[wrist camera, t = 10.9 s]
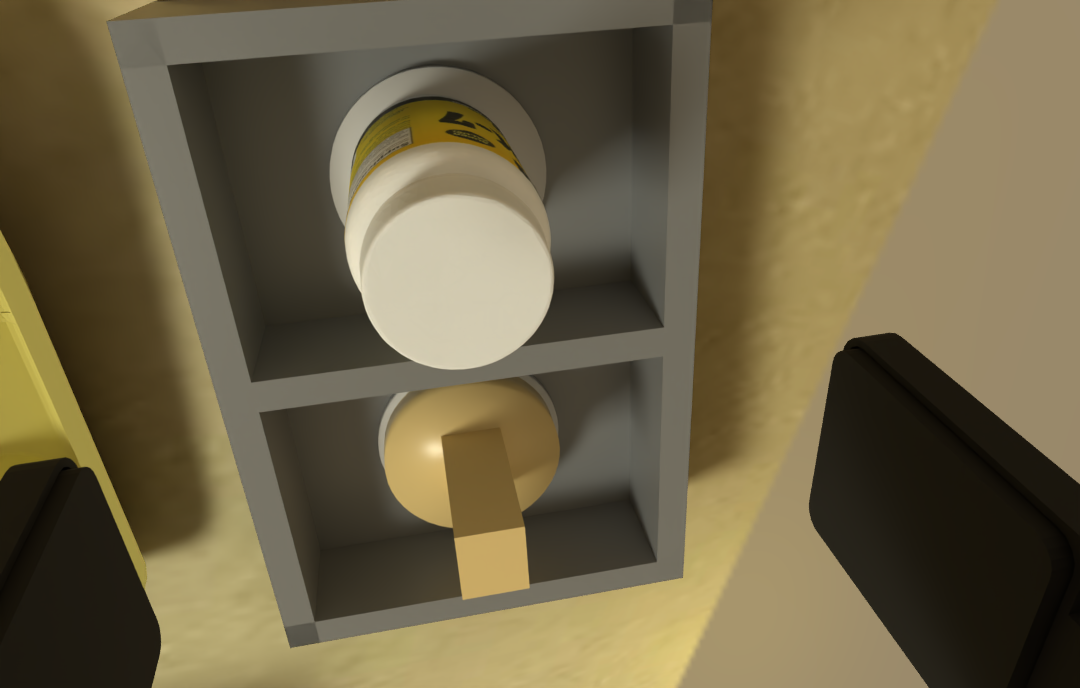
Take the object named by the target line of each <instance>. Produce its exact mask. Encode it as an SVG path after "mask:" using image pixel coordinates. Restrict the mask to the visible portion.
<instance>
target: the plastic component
mask: <svg viewBox="0 0 1080 688" xmlns="http://www.w3.org/2000/svg"><path fill="white" fill-rule="evenodd" d="M63 457H66V458H70V459H72V460H73V461H74V462H75V463H76V465H77V467H78V468H80V467H89V468H91V469H92V470H93V471H94V473H95V475H96V477H97V479H98V481H99V484H100V486H101V489H102V491H103V493H104V496H105V498H106V500H107V503H108V505H109V507H110V510H111V512H112V515H113V517H114V519H115V522H116V524H117V526H118V529H119V531H120V533H121V536H122V538H123V541H124V543H125V545H126V548H127V550H128V552H129V555H130V557H131V559H132V562H133V564H134V566H135V569H136V571H137V574H138V576H139V578H140V581H141V583H142V585H143V588H144V589H145V585H146V580H147V573H146V564H145V561H144V559H143V557H142V554H141V552H140V550H139V547H138V545H137V543H136V540H135V538H134V535H133V533H132V531H131V528H130V526H129V524H128V521H127V519H126V517H125V514H124V512H123V510H122V507H121V505H120V502H119V500H118V498H117V495H116V493H115V491H114V488H113V486H112V484H111V481H110V479H109V476H108V474H107V472H106V469H105V467H104V465H103V462H102V460H101V458H100V455H99V453H98V451H97V448H96V446H95V443H94V441H93V439H92V436H91V434H90V432H89V429H88V427H87V425H86V422H85V420H84V418H83V415H82V413H81V410H80V408H79V406H78V403H77V401H76V399H75V396H74V394H73V392H72V389H71V387H70V384H69V382H68V380H67V377H66V375H65V373H64V370H63V368H62V366H61V363H60V361H59V359H58V356H57V354H56V351H55V349H54V347H53V344H52V342H51V340H50V337H49V335H48V333H47V330H46V328H45V325H44V323H43V321H42V318H41V316H40V314H39V311H38V309H37V306H36V304H35V301H34V299H33V296H32V294H31V291H30V288H29V286H28V284H27V281H26V279H25V277H24V275H23V273H22V271H21V269H20V267H19V265H18V263H17V261H16V259H15V257H14V255H13V253H12V251H11V249H10V247H9V246H8V244H7V242H6V240H5V238H4V236H3V234H2V232H1V230H0V480H1V479H2V477H3V475H4V474H5V472H6V471H7V470H8V469H9V468H10V467H11V466H14V465H17V464H24V463H30V462H37V461H44V460H50V459H57V458H63Z"/></svg>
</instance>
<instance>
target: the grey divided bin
mask: <svg viewBox="0 0 1080 688" xmlns="http://www.w3.org/2000/svg"><path fill="white" fill-rule="evenodd" d="M712 3H713V0H167V1H154V2H152V3H150V4H147V5H145V6H142V7H140V8H138V9H135V10H133V11H130V12H128V13H126V14H123V15H121V16H118V17H116V18H114V19H111V20H109V21H106V22H107V25H108V29H109V32H110V35H111V39H112V42H113V46H114V49H115V52H116V56H117V59H118V63H119V66H120V69H121V73H122V76H123V80H124V83H125V86H126V90H127V93H128V97H129V100H130V103H131V107H132V110H133V114H134V117H135V121H136V124H137V127H138V131H139V134H140V138H141V141H142V144H143V148H144V151H145V155H146V158H147V161H148V165H149V168H150V172H151V175H152V178H153V182H154V185H155V189H156V192H157V195H158V199H159V202H160V206H161V209H162V212H163V216H164V219H165V223H166V226H167V230H168V233H169V236H170V240H171V243H172V247H173V250H174V253H175V257H176V260H177V264H178V267H179V270H180V274H181V277H182V281H183V284H184V287H185V291H186V294H187V298H188V301H189V304H190V308H191V311H192V315H193V318H194V321H195V325H196V328H197V332H198V335H199V339H200V342H201V345H202V349H203V352H204V356H205V359H206V362H207V366H208V369H209V373H210V376H211V379H212V383H213V386H214V390H215V393H216V396H217V400H218V403H219V407H220V410H221V413H222V417H223V420H224V424H225V427H226V430H227V434H228V437H229V441H230V444H231V448H232V451H233V454H234V458H235V461H236V465H237V468H238V471H239V475H240V478H241V482H242V485H243V488H244V492H245V495H246V499H247V502H248V505H249V509H250V512H251V516H252V519H253V522H254V526H255V529H256V533H257V536H258V540H259V543H260V546H261V550H262V553H263V557H264V560H265V563H266V567H267V570H268V574H269V577H270V580H271V584H272V587H273V591H274V594H275V597H276V601H277V604H278V608H279V611H280V614H281V618H282V621H283V625H284V628H285V631H286V635H287V638H288V642H289V645H290V648H292V647H298V646H304V645H309V644H315V643H320V642H326V641H332V640H337V639H343V638H348V637H354V636H360V635H365V634H371V633H376V632H382V631H387V630H393V629H399V628H404V627H410V626H415V625H421V624H427V623H432V622H438V621H443V620H449V619H455V618H460V617H466V616H471V615H477V614H483V613H488V612H494V611H499V610H505V609H511V608H516V607H522V606H527V605H533V604H539V603H544V602H550V601H555V600H561V599H567V598H572V597H578V596H583V595H589V594H595V593H600V592H606V591H611V590H617V589H623V588H628V587H634V586H639V585H645V584H651V583H656V582H662V581H667V580H673V579H678V578H683V567H684V547H685V528H686V508H687V489H688V469H689V450H690V431H691V411H692V392H693V372H694V353H695V333H696V314H697V294H698V275H699V256H700V236H701V217H702V197H703V178H704V158H705V139H706V120H707V100H708V81H709V61H710V42H711V22H712ZM421 95H441V96H447V97H451V98H455V99H458V100H461V101H463V102H465V103H468V104H470V105H471V106H473V107H475V108H476V109H478V110H479V111H481V112H482V113H483V114H485V115H486V116H487V117H488V118H489V119H490V120H491V121H492V122H493V123H494V124H495V125H496V126H497V127H498V128H499V130H500V131H501V132H502V134H503V135H504V137H505V138H506V140H507V142H508V144H509V145H510V147H511V149H512V150H513V152H514V154H515V155H516V157H517V159H518V160H519V162H520V164H521V165H522V167H523V169H524V170H525V172H526V174H527V176H528V177H529V179H530V181H531V182H532V184H533V185H534V186H535V188H536V190H537V192H538V194H539V196H540V198H541V200H542V202H543V205H544V208H545V211H546V214H547V218H548V221H549V227H550V235H551V248H550V254H551V257H552V261H553V267H554V287H553V294H552V299H551V302H550V306H549V308H548V311H547V313H546V315H545V317H544V319H543V321H542V323H541V324H540V326H539V327H538V329H537V330H536V331H535V333H534V334H533V335H532V336H531V337H530V338H529V339H528V340H527V341H526V342H525V343H524V344H523V345H522V346H520V347H519V348H518V349H517V350H515V351H514V352H512V353H511V354H509V355H507V356H506V357H504V358H502V359H500V360H498V361H496V362H493V363H491V364H488V365H484V366H481V367H476V368H470V369H455V370H450V369H439V368H433V367H430V366H426V365H423V364H420V363H417V362H415V361H413V360H411V359H408V358H407V357H405V356H403V355H402V354H400V353H399V352H397V351H396V350H395V349H393V348H392V347H391V346H390V345H389V344H387V343H386V342H385V341H384V340H383V339H382V337H381V336H380V335H379V333H378V332H377V330H376V329H375V328H374V326H373V324H372V323H371V321H370V319H369V317H368V315H367V312H366V310H365V306H364V303H363V298H362V293H361V292H360V290H359V289H358V287H357V285H356V283H355V281H354V279H353V276H352V274H351V271H350V267H349V264H348V260H347V255H346V249H345V241H344V238H345V225H346V216H347V206H348V195H349V184H350V176H351V166H352V159H353V155H354V151H355V148H356V146H357V143H358V141H359V139H360V137H361V135H362V133H363V132H364V130H365V129H366V127H367V126H368V125H369V124H370V122H371V121H372V120H373V119H374V118H375V117H376V116H377V115H378V114H379V113H381V112H382V111H383V110H385V109H386V108H388V107H389V106H391V105H393V104H395V103H397V102H399V101H402V100H404V99H407V98H411V97H415V96H421Z"/></svg>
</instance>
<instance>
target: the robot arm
mask: <svg viewBox="0 0 1080 688" xmlns="http://www.w3.org/2000/svg"><path fill="white" fill-rule="evenodd" d="M809 512H810V516H811V520H812V522H813V525H814V527H815V529H816V531H817V532H818V533H819V535H820V536H821V538H822V539H823V540H824V542H825V543H826V545H827V546H828V547H829V549H830V550H831V552H832V553H833V554H834V556H835V557H836V559H837V560H838V561H839V563H840V564H841V565H842V567H843V568H844V570H845V571H846V573H847V574H848V575H849V576H850V578H851V580H852V581H853V582H854V584H855V585H856V587H857V588H858V589H859V591H860V592H861V593H862V595H863V596H864V598H865V599H866V600H867V602H868V603H869V605H870V606H871V607H872V609H873V610H874V612H875V613H876V614H877V616H878V617H879V619H880V620H881V621H882V623H883V624H884V626H885V627H886V628H887V630H888V631H889V633H890V634H891V635H892V637H893V638H894V639H895V641H896V642H897V644H898V645H899V646H900V648H901V649H902V651H903V652H904V653H905V655H906V656H907V657H908V659H909V660H910V662H911V663H912V665H913V666H914V667H915V669H916V670H917V671H918V673H919V674H920V676H921V677H922V678H923V680H924V681H925V683H926V684H927V686H928V687H929V688H1080V484H1079V483H1078V482H1076V481H1075V480H1074V479H1073V478H1071V477H1070V476H1069V475H1068V474H1067V473H1065V472H1064V471H1063V470H1062V469H1061V468H1059V467H1058V466H1057V465H1056V464H1054V463H1053V462H1052V461H1051V460H1050V459H1048V458H1047V457H1046V456H1045V455H1044V454H1042V453H1041V452H1040V451H1039V450H1038V449H1036V448H1035V447H1034V446H1033V445H1032V444H1030V443H1029V442H1028V441H1026V440H1025V439H1024V438H1023V437H1022V436H1021V435H1019V434H1018V433H1017V432H1016V431H1015V430H1013V429H1012V428H1011V427H1010V426H1008V425H1007V424H1006V423H1005V422H1004V421H1002V420H1001V419H1000V418H999V417H998V416H996V415H995V414H994V413H993V412H992V411H990V410H989V409H988V408H987V407H985V406H984V405H983V404H982V403H981V402H979V401H978V400H977V399H976V398H975V397H973V396H972V395H971V394H970V393H969V392H967V391H966V390H965V389H964V388H963V387H961V386H960V385H959V384H958V383H957V382H955V381H954V380H953V379H952V378H951V377H949V376H948V375H947V374H946V373H944V372H943V371H942V370H941V369H940V368H938V367H937V366H936V365H935V364H934V363H932V362H931V361H930V360H929V359H928V358H926V357H925V356H924V355H923V354H921V353H920V352H919V351H918V350H916V349H915V348H914V347H913V346H912V345H911V344H909V343H908V342H907V341H906V340H905V339H903V338H902V337H901V336H899V335H897V334H896V333H885V334H878V335H872V336H865V337H858V338H853V339H851V340H849V341H848V342H847V343H846V345H845V346H844V350H843V351H840V352H838V353H837V354H836V355H835V357H834V360H833V364H832V370H831V376H830V382H829V388H828V394H827V399H826V406H825V412H824V417H823V423H822V429H821V436H820V441H819V447H818V453H817V459H816V465H815V471H814V477H813V483H812V488H811V494H810V500H809ZM160 649H161V634H160V628H159V624H158V621H157V618H156V616H155V614H154V611H153V609H152V607H151V604H150V602H149V600H148V597H147V595H146V592H145V590H144V588H143V585H142V583H141V581H140V578H139V576H138V574H137V571H136V569H135V566H134V564H133V562H132V559H131V557H130V555H129V552H128V550H127V548H126V545H125V543H124V541H123V538H122V536H121V533H120V531H119V529H118V526H117V524H116V522H115V519H114V517H113V515H112V512H111V510H110V507H109V505H108V503H107V500H106V498H105V496H104V493H103V491H102V489H101V486H100V484H99V481H98V479H97V477H96V475H95V473H94V471H93V470H92V469H91V468H89V467H80V468H78V467H77V465H76V463H75V462H74V461H73V460H72V459H70V458H66V457H63V458H57V459H50V460H44V461H37V462H30V463H24V464H17V465H14V466H11V467H10V468H9V469H8V470H7V471H6V472H5V474H4V475H3V477H2V479H1V480H0V688H152V684H153V680H154V676H155V671H156V667H157V663H158V659H159V655H160Z"/></svg>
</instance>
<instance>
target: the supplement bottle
mask: <svg viewBox="0 0 1080 688" xmlns="http://www.w3.org/2000/svg"><path fill="white" fill-rule="evenodd" d="M344 241H345V249H346V255H347V260H348V264H349V267H350V271H351V274H352V276H353V279H354V281H355V283H356V285H357V287H358V289H359V290H360V292H361V293H362V298H363V303H364V306H365V310H366V312H367V315H368V317H369V319H370V321H371V323H372V324H373V326H374V328H375V329H376V330H377V332H378V333H379V335H380V336H381V337H382V339H383V340H384V341H385V342H386V343H387V344H389V345H390V346H391V347H392V348H393V349H395V350H396V351H397V352H399V353H400V354H402V355H403V356H405V357H407V358H408V359H411V360H413V361H415V362H417V363H420V364H423V365H426V366H430V367H433V368H439V369H450V370H455V369H470V368H476V367H481V366H484V365H488V364H491V363H493V362H496V361H498V360H500V359H502V358H504V357H506V356H507V355H509V354H511V353H512V352H514V351H515V350H517V349H518V348H519V347H520V346H522V345H523V344H524V343H525V342H526V341H527V340H528V339H529V338H530V337H531V336H532V335H533V334H534V333H535V331H536V330H537V329H538V327H539V326H540V324H541V323H542V321H543V319H544V317H545V315H546V313H547V311H548V308H549V306H550V302H551V299H552V294H553V287H554V267H553V261H552V257H551V254H550V248H551V235H550V227H549V221H548V218H547V214H546V211H545V208H544V205H543V202H542V200H541V198H540V196H539V194H538V192H537V190H536V188H535V186H534V185H533V184H532V182H531V181H530V179H529V177H528V176H527V174H526V172H525V170H524V169H523V167H522V165H521V164H520V162H519V160H518V159H517V157H516V155H515V154H514V152H513V150H512V149H511V147H510V145H509V144H508V142H507V140H506V138H505V137H504V135H503V134H502V132H501V131H500V130H499V128H498V127H497V126H496V125H495V124H494V123H493V122H492V121H491V120H490V119H489V118H488V117H487V116H486V115H485V114H483V113H482V112H481V111H479V110H478V109H476V108H475V107H473V106H471V105H470V104H468V103H465V102H463V101H461V100H458V99H455V98H451V97H447V96H441V95H421V96H415V97H411V98H407V99H404V100H402V101H399V102H397V103H395V104H393V105H391V106H389V107H388V108H386V109H385V110H383V111H382V112H381V113H379V114H378V115H377V116H376V117H375V118H374V119H373V120H372V121H371V122H370V124H369V125H368V126H367V127H366V129H365V130H364V132H363V133H362V135H361V137H360V139H359V141H358V143H357V146H356V148H355V151H354V155H353V159H352V166H351V176H350V184H349V195H348V206H347V216H346V225H345V238H344Z"/></svg>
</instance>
